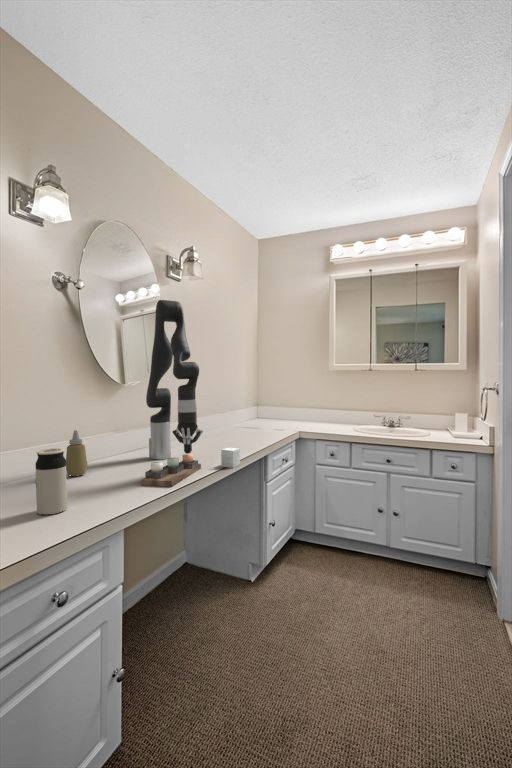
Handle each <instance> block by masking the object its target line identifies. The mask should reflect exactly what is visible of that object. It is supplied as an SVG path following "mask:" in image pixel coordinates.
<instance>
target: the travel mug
mask: <svg viewBox="0 0 512 768" xmlns="http://www.w3.org/2000/svg"><path fill="white" fill-rule="evenodd" d="M65 451H66V450H65V448H62V447H55V448H52V447H51V448H44V449H40V450H37V451H36V452H35V453H36V455H37V459H36V461H35V492H36V494H35V495H36V497H35V498H36V513H37V514H38V513H39V514H38V515H41V514H53V515H56V514H55V513H58V514H60V513H59V512H61V513H63V512H65V511H66V510H67V509H68V488H67V487H68V485H67V484H68V483H67V482H68V481H67V470H66V457H65V456H64V453H65ZM62 511H63V512H62Z"/></svg>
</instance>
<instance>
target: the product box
mask: <svg viewBox="0 0 512 768" xmlns="http://www.w3.org/2000/svg"><path fill="white" fill-rule="evenodd" d="M240 449H241V448H238V447H225V448H223V449H221V451H220V453H221V458H220V459H221V462H220V463H221V466H220V467H222V468H230V469H231V468H233V469H234V468H236V467H238V466H240V465H241V455H240V451H241V450H240Z"/></svg>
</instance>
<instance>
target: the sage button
mask: <svg viewBox="0 0 512 768" xmlns="http://www.w3.org/2000/svg"><path fill="white" fill-rule="evenodd" d="M166 460H167V461H166V463H167V467H170V468H176V467H179V462H180V459H179V457H170V458H167V459H166Z"/></svg>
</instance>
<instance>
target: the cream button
mask: <svg viewBox="0 0 512 768" xmlns="http://www.w3.org/2000/svg"><path fill="white" fill-rule="evenodd" d="M163 467H164V464H163V461H153V462H150V470H151V472H162V471H163Z"/></svg>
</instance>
